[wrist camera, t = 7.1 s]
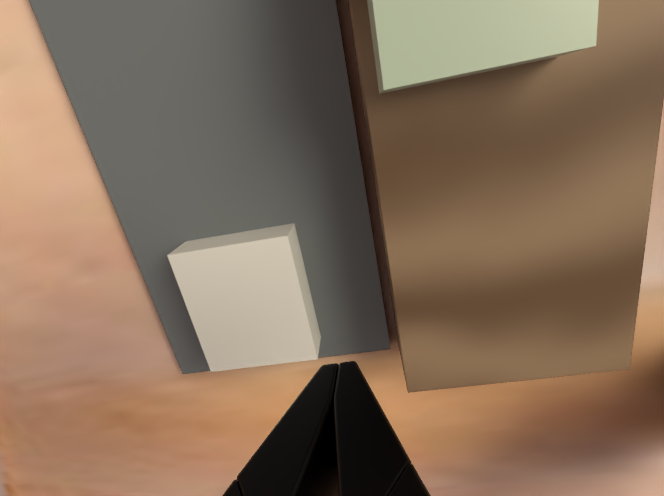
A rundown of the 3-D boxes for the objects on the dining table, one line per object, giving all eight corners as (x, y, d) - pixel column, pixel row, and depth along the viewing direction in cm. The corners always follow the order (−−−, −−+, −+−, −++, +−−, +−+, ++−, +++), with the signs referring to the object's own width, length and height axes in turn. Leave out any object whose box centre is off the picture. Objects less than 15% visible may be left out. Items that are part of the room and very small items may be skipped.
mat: (389, 343, 21) (390, 349, 20) (186, 368, 22) (182, 374, 22) (314, -132, 13) (313, -142, 13) (18, -46, 15) (7, -52, 15)
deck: (577, 320, 20) (629, 369, 16) (398, 342, 21) (407, 392, 17) (609, -218, 12) (721, -365, 8) (327, -136, 13) (317, -233, 10)
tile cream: (211, 372, 19) (223, 349, 21) (317, 359, 19) (321, 336, 20) (167, 255, 17) (185, 241, 19) (287, 235, 16) (294, 223, 18)
